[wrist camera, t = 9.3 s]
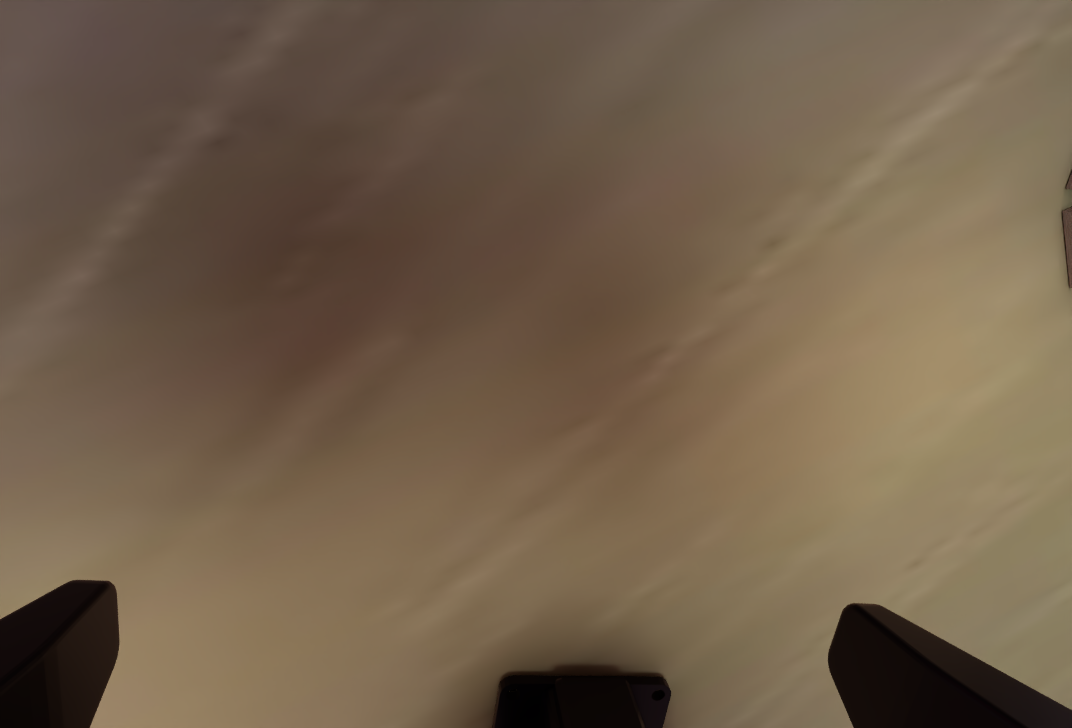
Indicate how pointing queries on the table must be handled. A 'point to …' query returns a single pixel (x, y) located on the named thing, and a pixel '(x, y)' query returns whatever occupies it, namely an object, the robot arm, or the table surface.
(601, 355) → the table surface
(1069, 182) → the toothed ring
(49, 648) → the robot arm
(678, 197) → the table surface
